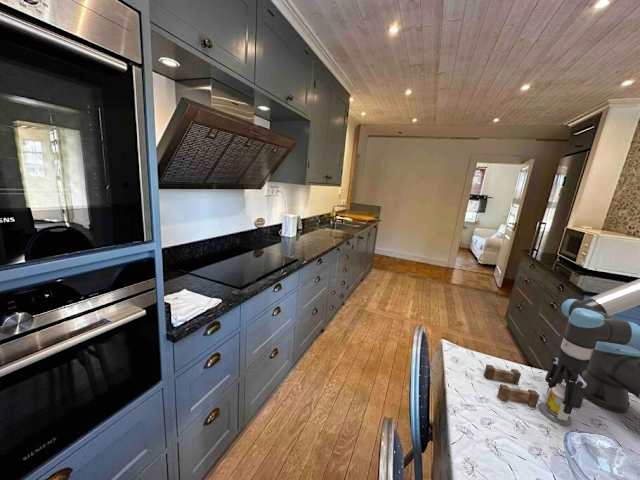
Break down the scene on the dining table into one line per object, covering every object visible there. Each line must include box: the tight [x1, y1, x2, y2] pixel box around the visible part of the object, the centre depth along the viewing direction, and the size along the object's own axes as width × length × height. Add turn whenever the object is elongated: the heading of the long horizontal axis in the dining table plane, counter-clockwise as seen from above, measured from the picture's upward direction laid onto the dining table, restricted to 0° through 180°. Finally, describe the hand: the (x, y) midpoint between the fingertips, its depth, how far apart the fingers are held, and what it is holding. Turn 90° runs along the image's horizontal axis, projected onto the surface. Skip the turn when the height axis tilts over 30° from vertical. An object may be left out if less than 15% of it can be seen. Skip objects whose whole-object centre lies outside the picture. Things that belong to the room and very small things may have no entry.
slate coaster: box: [537, 402, 573, 427], centre depth 93 cm, size 9×9×1 cm
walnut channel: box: [483, 363, 540, 409], centre depth 102 cm, size 12×14×5 cm
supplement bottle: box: [547, 383, 566, 416], centre depth 92 cm, size 6×6×10 cm
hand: (555, 411), depth 93 cm, fingers closed on supplement bottle, 6 cm apart
